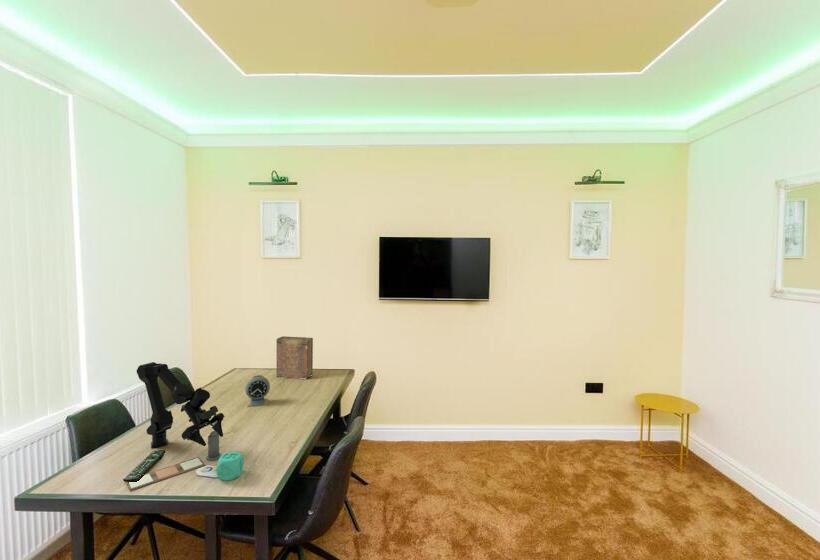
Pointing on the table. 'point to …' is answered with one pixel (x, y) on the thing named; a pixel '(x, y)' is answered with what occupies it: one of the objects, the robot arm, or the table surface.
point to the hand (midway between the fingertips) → (214, 440)
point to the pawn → (213, 446)
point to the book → (294, 357)
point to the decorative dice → (230, 466)
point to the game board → (166, 473)
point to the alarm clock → (257, 390)
